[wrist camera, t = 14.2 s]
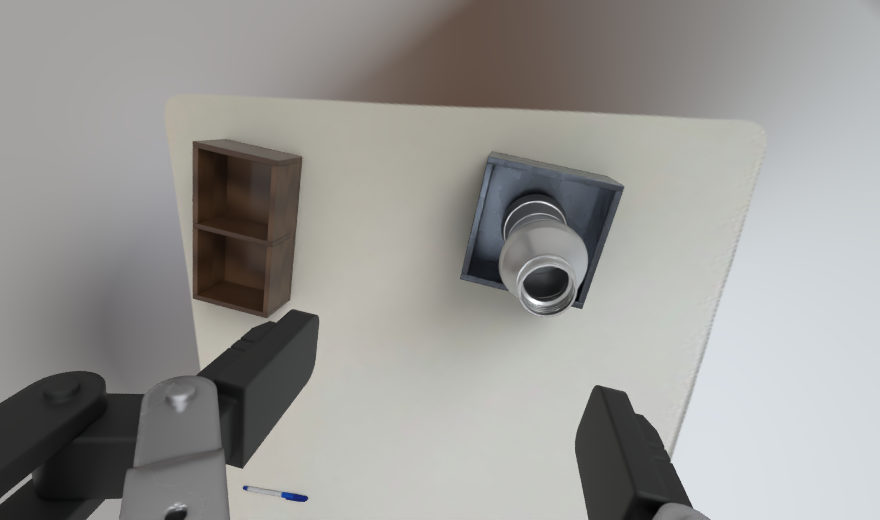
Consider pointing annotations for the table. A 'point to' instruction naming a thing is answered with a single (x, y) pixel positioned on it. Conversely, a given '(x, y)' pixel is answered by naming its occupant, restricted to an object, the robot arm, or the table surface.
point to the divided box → (244, 225)
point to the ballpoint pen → (277, 494)
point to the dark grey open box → (514, 177)
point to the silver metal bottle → (541, 255)
